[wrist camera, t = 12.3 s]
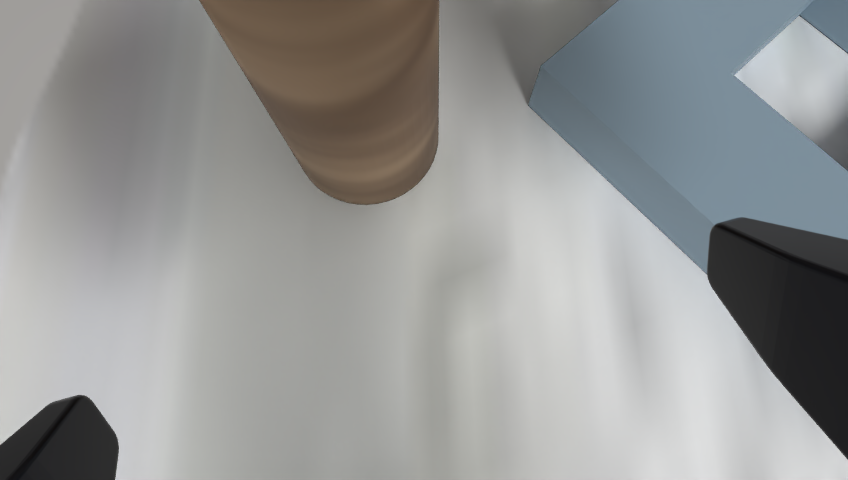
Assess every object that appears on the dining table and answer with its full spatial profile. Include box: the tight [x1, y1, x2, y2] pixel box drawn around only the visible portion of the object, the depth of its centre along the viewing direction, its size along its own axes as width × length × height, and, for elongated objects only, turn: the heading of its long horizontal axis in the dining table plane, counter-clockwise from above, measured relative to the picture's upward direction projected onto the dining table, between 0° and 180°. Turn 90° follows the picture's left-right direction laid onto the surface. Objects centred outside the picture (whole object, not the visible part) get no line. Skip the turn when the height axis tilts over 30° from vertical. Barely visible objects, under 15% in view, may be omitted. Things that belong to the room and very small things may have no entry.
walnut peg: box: [199, 0, 439, 205], centre depth 13 cm, size 5×5×14 cm
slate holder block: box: [528, 0, 848, 274], centre depth 18 cm, size 14×14×2 cm
